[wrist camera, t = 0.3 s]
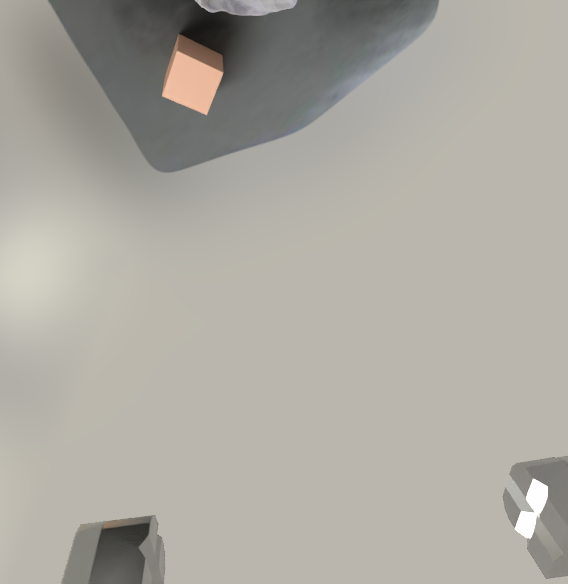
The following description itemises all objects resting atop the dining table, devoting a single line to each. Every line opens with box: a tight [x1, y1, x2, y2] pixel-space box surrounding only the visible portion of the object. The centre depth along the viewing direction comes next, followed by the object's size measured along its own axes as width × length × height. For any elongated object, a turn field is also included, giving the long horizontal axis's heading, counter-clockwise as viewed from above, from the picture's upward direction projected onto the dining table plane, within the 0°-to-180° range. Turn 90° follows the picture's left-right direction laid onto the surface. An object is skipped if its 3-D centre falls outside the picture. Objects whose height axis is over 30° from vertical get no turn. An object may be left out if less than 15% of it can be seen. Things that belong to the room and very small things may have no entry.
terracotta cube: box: [162, 34, 224, 115], centre depth 49 cm, size 5×5×5 cm
